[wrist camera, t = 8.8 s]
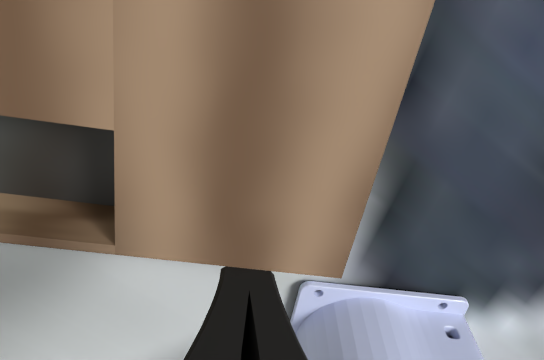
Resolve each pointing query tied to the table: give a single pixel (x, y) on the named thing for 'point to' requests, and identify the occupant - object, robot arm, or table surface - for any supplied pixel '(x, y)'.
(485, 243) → the table surface
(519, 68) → the table surface
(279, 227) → the trap deck
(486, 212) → the table surface
